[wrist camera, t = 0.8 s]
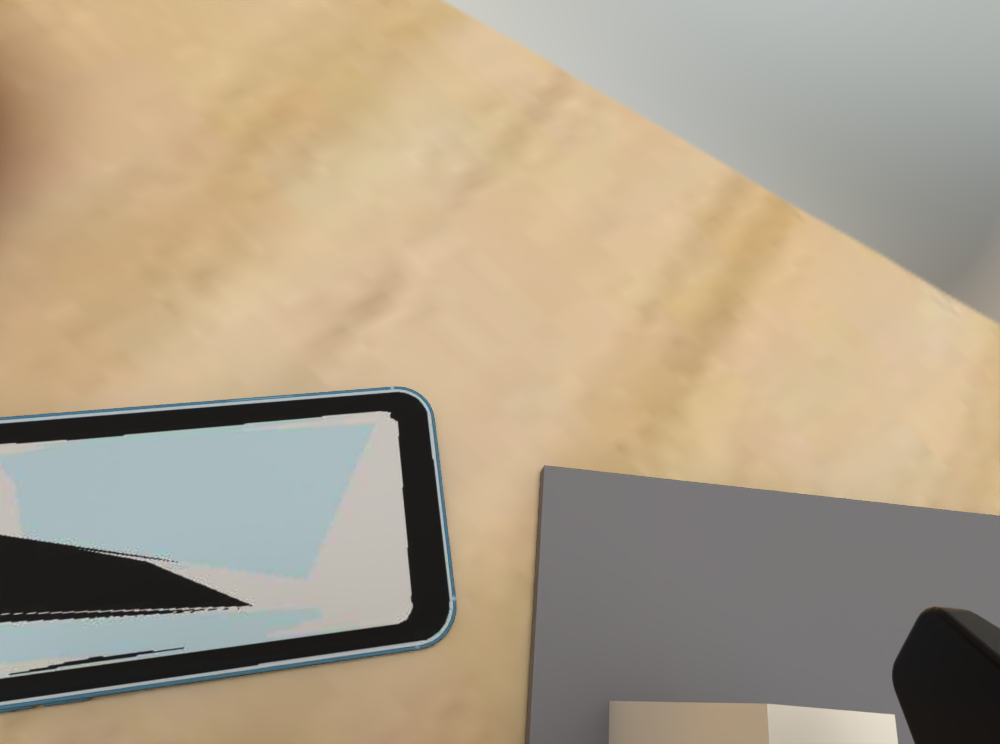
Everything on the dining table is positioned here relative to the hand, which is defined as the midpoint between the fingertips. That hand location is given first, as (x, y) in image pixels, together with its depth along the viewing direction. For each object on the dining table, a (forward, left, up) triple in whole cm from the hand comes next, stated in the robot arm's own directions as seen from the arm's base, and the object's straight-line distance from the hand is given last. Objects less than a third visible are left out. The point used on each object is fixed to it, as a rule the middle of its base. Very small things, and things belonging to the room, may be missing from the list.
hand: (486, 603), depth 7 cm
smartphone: (+2, +7, -14) cm, 16 cm away
